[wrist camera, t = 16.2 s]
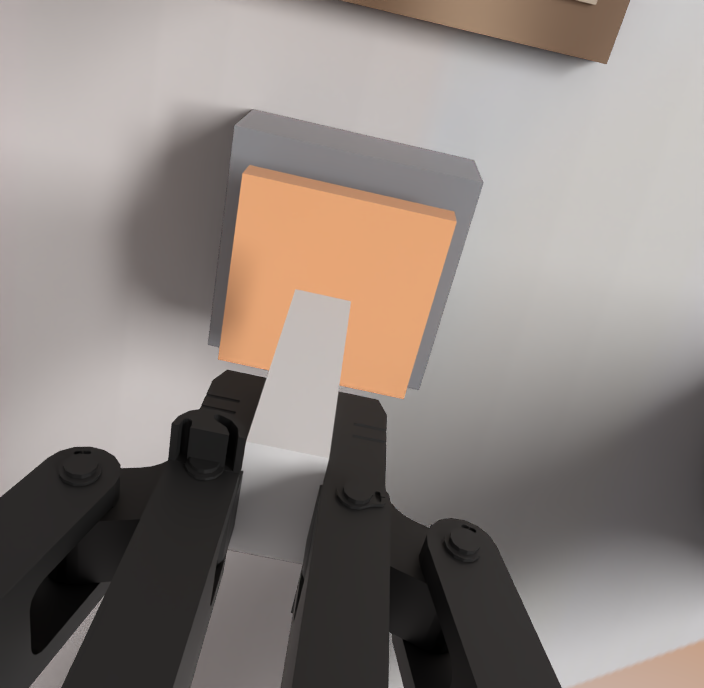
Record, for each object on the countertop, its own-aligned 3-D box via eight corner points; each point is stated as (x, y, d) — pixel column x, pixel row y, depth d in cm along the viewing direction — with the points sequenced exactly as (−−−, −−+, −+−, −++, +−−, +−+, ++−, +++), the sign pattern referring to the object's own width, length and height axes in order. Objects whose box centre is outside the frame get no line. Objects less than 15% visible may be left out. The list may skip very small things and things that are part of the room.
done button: (449, 189, 23) (456, 221, 20) (403, 349, 26) (403, 399, 23) (264, 147, 22) (242, 173, 19) (239, 313, 25) (218, 359, 22)
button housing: (473, 160, 24) (483, 182, 21) (417, 351, 27) (418, 390, 25) (253, 109, 23) (234, 125, 21) (226, 309, 27) (207, 344, 24)
